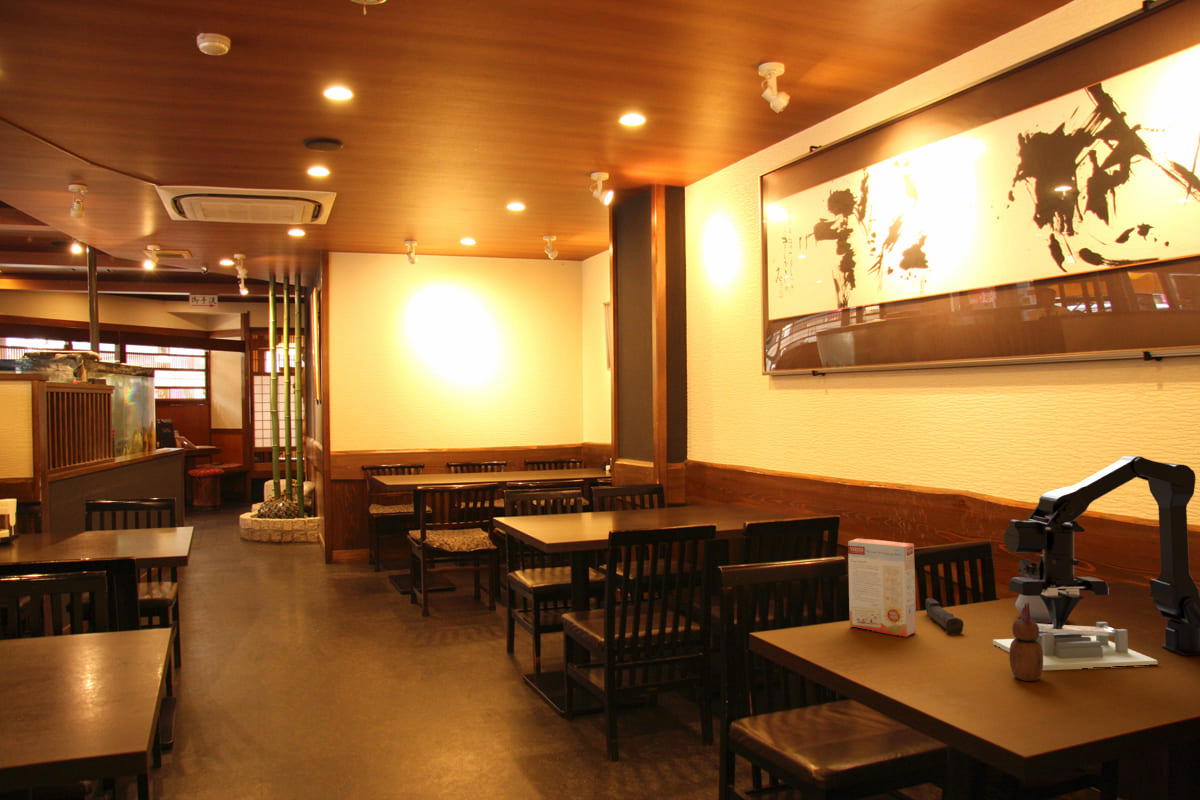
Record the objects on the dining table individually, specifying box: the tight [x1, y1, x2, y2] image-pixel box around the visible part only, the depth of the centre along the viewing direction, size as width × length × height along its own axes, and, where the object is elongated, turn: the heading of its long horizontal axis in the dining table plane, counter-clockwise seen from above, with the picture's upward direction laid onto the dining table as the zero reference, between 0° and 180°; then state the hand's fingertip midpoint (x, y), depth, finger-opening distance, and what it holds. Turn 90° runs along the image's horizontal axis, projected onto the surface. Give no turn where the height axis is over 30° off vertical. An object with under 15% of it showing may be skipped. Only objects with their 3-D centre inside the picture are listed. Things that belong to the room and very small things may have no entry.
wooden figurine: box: [1008, 603, 1043, 682], centre depth 158 cm, size 7×6×15 cm
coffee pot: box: [1014, 575, 1053, 624], centre depth 196 cm, size 21×12×15 cm, turn 142°
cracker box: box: [847, 538, 917, 638], centre depth 192 cm, size 14×6×21 cm, turn 47°
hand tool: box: [925, 597, 965, 635], centre depth 198 cm, size 19×4×5 cm, turn 174°
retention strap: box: [1037, 623, 1116, 638], centre depth 172 cm, size 17×4×2 cm, turn 94°
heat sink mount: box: [992, 621, 1158, 671], centre depth 172 cm, size 24×18×6 cm
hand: (1058, 627), depth 172 cm, fingers closed, pressing on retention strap
